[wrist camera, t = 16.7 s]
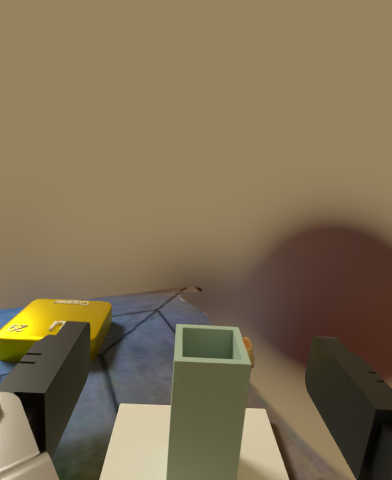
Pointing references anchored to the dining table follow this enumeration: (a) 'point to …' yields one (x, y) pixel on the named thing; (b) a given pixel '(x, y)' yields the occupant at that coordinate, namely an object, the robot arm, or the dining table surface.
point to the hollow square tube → (207, 403)
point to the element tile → (53, 325)
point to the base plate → (156, 446)
